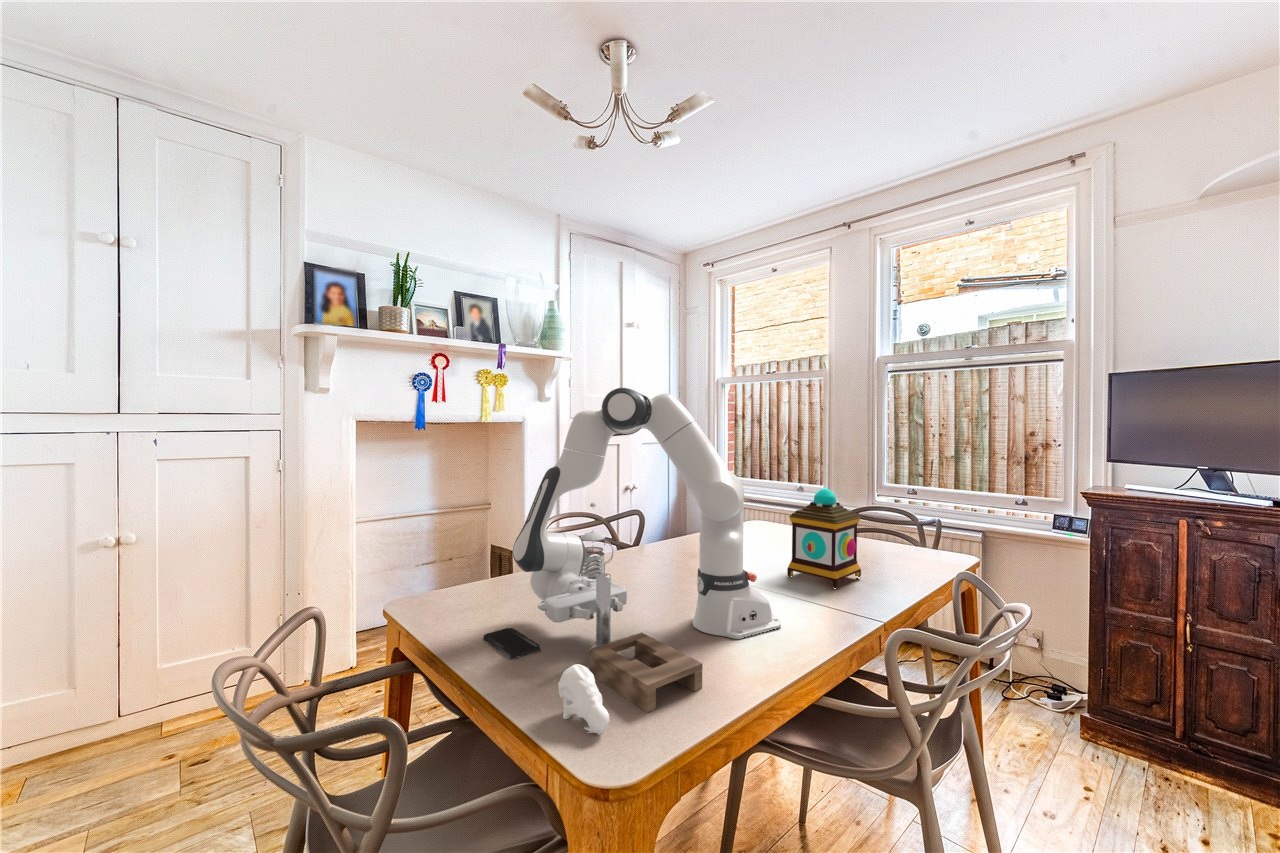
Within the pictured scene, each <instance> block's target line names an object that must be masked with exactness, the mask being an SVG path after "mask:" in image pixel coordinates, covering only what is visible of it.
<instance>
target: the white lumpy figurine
mask: <svg viewBox="0 0 1280 853" xmlns="http://www.w3.org/2000/svg"><path fill="white" fill-rule="evenodd" d="M557 686H558V695H559V696H560V698H561V700H562V706H563V714H562V717H563V720H569V718H570V717H571V716H574V715H576V716H577V717H578V718H581V719H583V720H584V721H586V723H587V725H588V726H584V728H583V729H584V730H586V731H588V732H586V734H587V733H588V734H591V733H592V734H597V735H598V736H599V735H601V734H602V732H603V731H604V730H605V729H606V728H607V727H608V725H609V722H610V714H609V712H608V710H607V709H606V708H605V706H604V705H603V695H602V692H600V690H599V688H598V686H597V684H596V677H595V676H594V675H593V673H592V672H590V671H589V667H586V666H585V665H582V664H577V663H575V664H572V665H571V666H570V667H568V668H567V669H565V670H564V671H563V673H562V674H561V676H560V680H559V682H558V683H557Z"/></svg>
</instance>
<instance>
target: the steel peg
mask: <svg viewBox="0 0 1280 853" xmlns="http://www.w3.org/2000/svg"><path fill="white" fill-rule="evenodd" d="M611 579H612V575H611V574H610V573H606V572H605V573H601V574H597V575H596V613H595V614H596V615H595V620H596V622H595V628H596V629H595V632H596V633H595V634H596V636H595V638H596V639H595V640H596V641H595V644H593V645H592V646H591V647H590V649H592V648H595V647H598V646H601V645H604V644H607V643H610V642H612V641H611V639H612V638H611V636H612V635H611V628H612V627H611V626H612V625H611V619H612V618H611V617H612V616H611V611H612V608H611V582H612V580H611Z"/></svg>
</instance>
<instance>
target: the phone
mask: <svg viewBox="0 0 1280 853" xmlns="http://www.w3.org/2000/svg"><path fill="white" fill-rule="evenodd" d="M483 640H484V641H485V642H486V643H487V642H488V643H487V644H488V645H489V646H491V647H493V648H494V649H495V648H496V649H495V650H496V651H498V652H499V651H500V654H502V655H503V654H504V655H503V656H505V657H506V658H507V657H508V658H507V659H510V660H515V659H519V657H520V658H522V657H525V656H529V655H532V654H535V653H538V652H539V651H541V645H540V644H538V643H537V642H535V641H534V640H532V639H530V638H529V637H528V636H526V635H525V634H523V633H522V632H520V631H518V630H517V629H515V628H513V627H507V628H503V629H499V630H495V631H493V632H489V633H485V634H483Z"/></svg>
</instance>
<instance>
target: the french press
mask: <svg viewBox="0 0 1280 853" xmlns="http://www.w3.org/2000/svg"><path fill="white" fill-rule="evenodd" d="M596 504H597V503H595V502H592V503H590V505H589V507H591V508H595V507H596V506H597V505H596ZM580 538H581V540H582V541H584V542H599V541H600V542H601V541H603V540H604V541H603V545H604V546H606V544H608V545H609V546H610V547H611V550H612V552H611V556H610V558H609V559H608V560H605V552H603V551H604V548H603V547H601V546H587V547H586V546H585V550H586V560H585V564H584V567H583V570H582V572H581V574H580V576H582V577H596V575H597V574H601V573H606V565H607V564H609V563H610V562H611V561H612V560H613V557H614V548H613V546H612V543H611V542H609V541H608V540H605V539H606V536H605V535H604V534H602V533H600V532H598V531H590V532H589V531H588V532H586V533H584V534H582V535H580ZM596 555H597V556H596Z"/></svg>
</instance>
